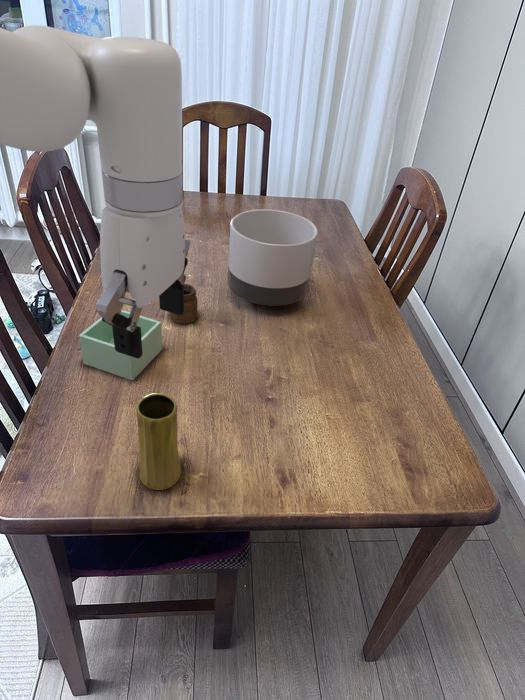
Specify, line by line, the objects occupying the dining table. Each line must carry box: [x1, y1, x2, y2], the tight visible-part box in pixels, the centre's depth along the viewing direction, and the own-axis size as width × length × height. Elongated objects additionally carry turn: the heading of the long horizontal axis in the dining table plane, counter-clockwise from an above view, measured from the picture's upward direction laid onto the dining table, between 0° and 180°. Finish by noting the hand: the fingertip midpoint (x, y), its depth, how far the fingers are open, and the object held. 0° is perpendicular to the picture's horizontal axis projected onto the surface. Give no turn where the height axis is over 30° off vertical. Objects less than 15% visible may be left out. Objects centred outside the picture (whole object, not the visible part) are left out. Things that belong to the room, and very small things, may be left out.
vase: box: [136, 392, 182, 491], centre depth 69 cm, size 6×6×14 cm
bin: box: [78, 309, 163, 381], centre depth 92 cm, size 11×11×7 cm
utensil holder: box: [169, 274, 198, 325], centre depth 103 cm, size 6×6×12 cm
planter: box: [226, 208, 319, 307], centre depth 112 cm, size 19×19×18 cm
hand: (151, 331), depth 58 cm, fingers open, 9 cm apart
